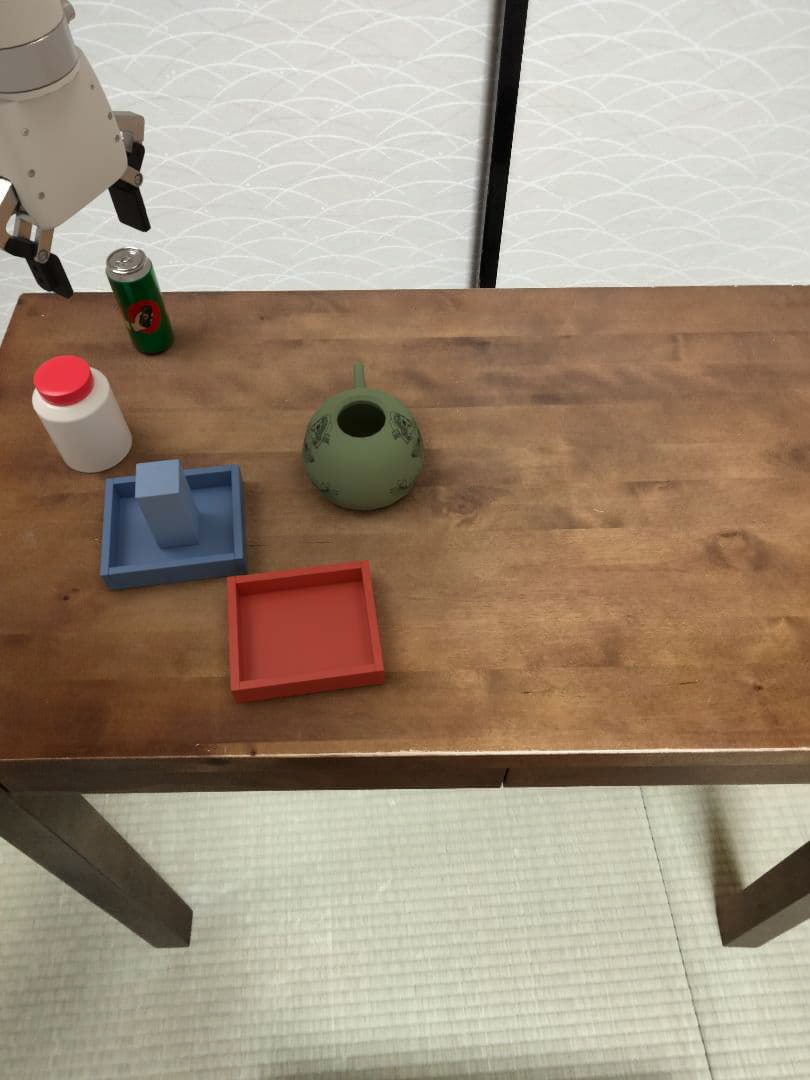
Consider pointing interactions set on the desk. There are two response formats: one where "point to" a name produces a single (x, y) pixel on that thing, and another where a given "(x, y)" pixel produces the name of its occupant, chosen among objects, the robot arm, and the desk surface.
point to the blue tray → (143, 563)
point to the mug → (363, 447)
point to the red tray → (303, 631)
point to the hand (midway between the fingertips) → (98, 257)
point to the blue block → (167, 503)
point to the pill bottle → (80, 414)
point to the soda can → (139, 299)
